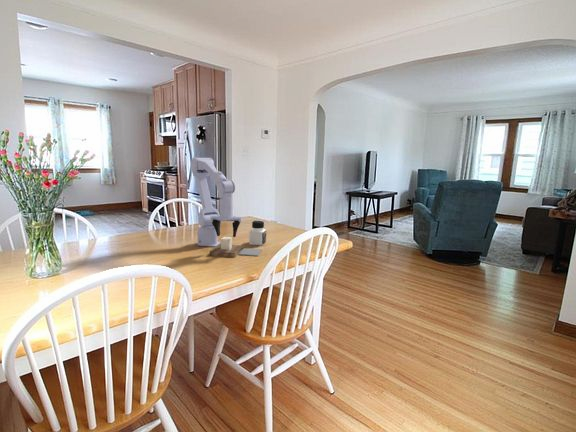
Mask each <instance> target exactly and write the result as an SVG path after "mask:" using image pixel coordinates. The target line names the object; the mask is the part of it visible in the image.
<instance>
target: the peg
mask: <svg viewBox="0 0 576 432" xmlns="http://www.w3.org/2000/svg"><path fill="white" fill-rule="evenodd" d="M220 244H221V250H231V249H232V245H233V236H223V237H221V238H220Z"/></svg>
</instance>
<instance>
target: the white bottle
mask: <svg viewBox="0 0 576 432" xmlns="http://www.w3.org/2000/svg"><path fill="white" fill-rule="evenodd" d="M251 227H252V228H251V230H249V231H248V233H249V235H248V236H249V237H248V238H249V239H248V240H249V243H248V244H249V245H251V246H264V245H265V244H266V243H267V229H265V222H264V221H263V220H261V219H260V220H258V219H256V220H253V221H251Z"/></svg>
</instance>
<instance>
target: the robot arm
mask: <svg viewBox="0 0 576 432" xmlns="http://www.w3.org/2000/svg"><path fill="white" fill-rule="evenodd" d="M214 162H215V161H214V159H213V158H212V157H194V156H193V157H192V159H191V160H190V169H191V172H192V175H193V176H194V178H195V180H196V185H197V189H198V194H199V199H200V204H201V208H202V209H201V210H200V211H199V212H198V224H199V227H198V229H197V244H196V245H197V246H200V247H212V248H214V247H215V246H217V245H218V244H221V241H218V240H219V239H218V237H220V235H221V223H222V222H232V223H231V224H232V238H235V237H237V232H238V229H239V226H240V224H241V223H242V222H243V217H242V216H234V214H233V206H234V205H233V194H234V193H235V191H236V186H235V185H236V184H235V182H234V181H233V180H231V179H227V177H226V176H225V175H224V173H223V172H222V171H218V169H217V168H216V167H215V163H214ZM209 176H211V181H212V182H213V183H214V185H215V186H216V191H217V193H218V198H219V210H218V209H217V208H215V207H213V201H212V197H211V192H210V189H209V188H210V187H209V185H208V181H207V177H209Z"/></svg>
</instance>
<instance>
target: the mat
mask: <svg viewBox="0 0 576 432" xmlns="http://www.w3.org/2000/svg"><path fill="white" fill-rule="evenodd" d="M262 251H263V249H258V248H247V247H246V248H243V247H242V251H241V252H240V253H239V254H238V255H239V256H248V257H250V256H253V257H258V256H259V255H260V254H261V253H262Z"/></svg>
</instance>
